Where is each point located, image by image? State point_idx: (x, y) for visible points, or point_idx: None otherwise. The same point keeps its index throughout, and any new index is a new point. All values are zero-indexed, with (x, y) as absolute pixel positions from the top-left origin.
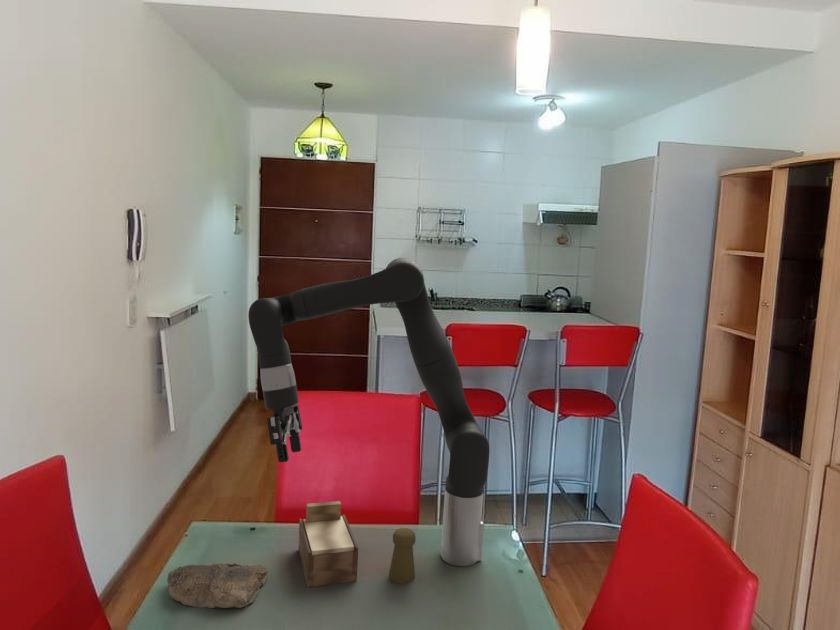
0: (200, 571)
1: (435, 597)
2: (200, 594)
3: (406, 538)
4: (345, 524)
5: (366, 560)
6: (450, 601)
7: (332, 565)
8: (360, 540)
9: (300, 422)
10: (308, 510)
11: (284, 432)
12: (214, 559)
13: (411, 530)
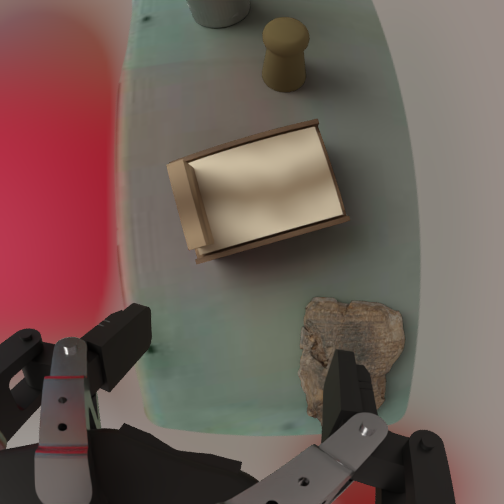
0: None
1: (334, 38)
2: (381, 379)
3: (306, 29)
4: (205, 156)
5: (240, 129)
6: (340, 24)
7: None
8: (171, 147)
9: (5, 354)
10: (207, 242)
11: (345, 481)
12: (257, 390)
13: (279, 19)
